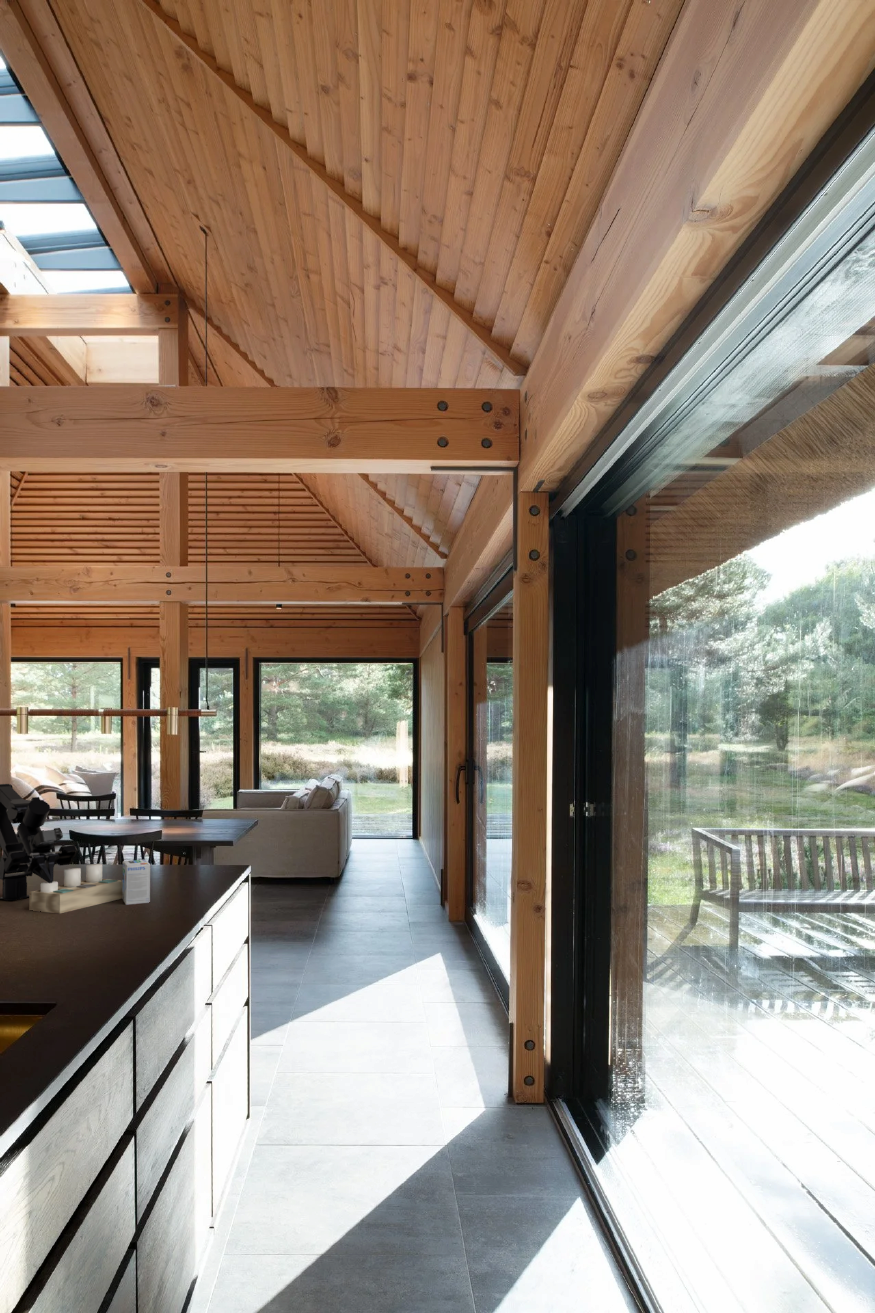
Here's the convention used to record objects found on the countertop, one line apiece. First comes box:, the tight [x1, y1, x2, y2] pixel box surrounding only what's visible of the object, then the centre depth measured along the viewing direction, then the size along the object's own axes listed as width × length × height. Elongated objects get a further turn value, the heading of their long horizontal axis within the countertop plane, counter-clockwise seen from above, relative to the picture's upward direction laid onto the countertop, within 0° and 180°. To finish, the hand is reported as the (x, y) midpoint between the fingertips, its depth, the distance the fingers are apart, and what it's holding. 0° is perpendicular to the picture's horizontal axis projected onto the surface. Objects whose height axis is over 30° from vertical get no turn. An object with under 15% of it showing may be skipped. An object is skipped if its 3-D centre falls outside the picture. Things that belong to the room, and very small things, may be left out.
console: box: [28, 878, 123, 914], centre depth 259 cm, size 12×23×5 cm, turn 154°
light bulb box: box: [121, 859, 151, 906], centre depth 263 cm, size 11×7×11 cm, turn 25°
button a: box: [40, 880, 59, 893], centre depth 253 cm, size 4×4×7 cm
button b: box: [63, 867, 82, 888], centre depth 261 cm, size 4×4×7 cm
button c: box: [85, 863, 103, 883], centre depth 268 cm, size 4×4×7 cm
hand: (51, 882), depth 253 cm, fingers closed, pressing on button a
